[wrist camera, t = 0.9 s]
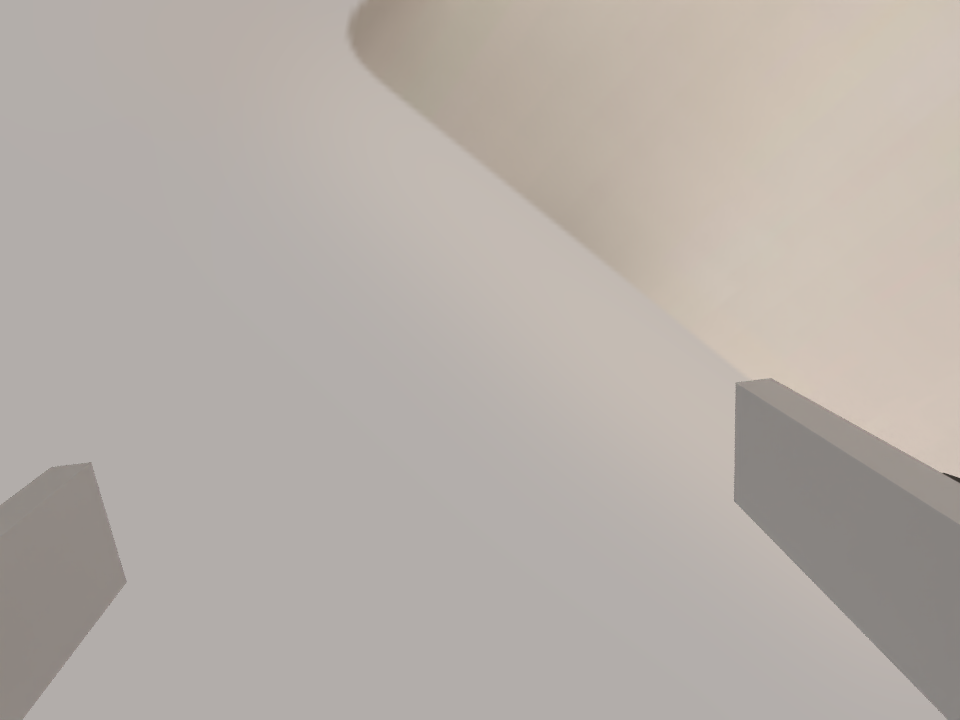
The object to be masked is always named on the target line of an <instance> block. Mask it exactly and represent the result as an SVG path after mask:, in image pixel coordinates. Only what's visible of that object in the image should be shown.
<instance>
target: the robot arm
mask: <svg viewBox="0 0 960 720" xmlns="http://www.w3.org/2000/svg"><path fill="white" fill-rule="evenodd" d="M735 405H736V406H735V407H736V409H735V477H734V478H735V479H734V483H735V484H734V501H735V502H736V503H737V504H738V505H739V506H740V507H741V508H742V509H743V510H744V512H745V513H746V514H748V515H749V517H750V518H751V519H752V520H753V521H754V522H755V523H756V524H757V525H758V526H759V527H760V528H761V529H762V530H763V531H764V532H765V533H766V534H767V535H768V536H769V537H770V538H771V539H772V540H773V541H774V542H775V543H776V544H777V545H778V546H779V547H780V548H781V549H782V550H783V551H784V552H785V553H786V555H787V556H788V557H789V558H790V559H791V560H792V561H793V562H794V563H795V564H796V565H797V566H798V567H799V568H800V569H801V570H802V571H803V572H804V573H805V574H806V575H807V576H808V577H809V578H810V579H811V580H812V581H813V582H814V583H815V584H816V585H817V586H818V587H819V588H820V589H821V590H822V591H823V592H824V593H825V594H826V595H827V596H828V597H829V598H830V600H832V601H833V602H834V604H836V605H837V606H838V608H839V609H840V610H841V611H842V612H843V613H844V614H845V615H846V616H847V617H848V618H849V619H850V620H851V621H852V622H853V623H854V624H855V625H856V626H857V627H858V628H859V629H860V630H861V631H862V632H863V633H864V634H865V635H866V636H867V637H868V638H869V639H870V640H871V641H872V642H873V643H874V644H875V645H876V647H877V648H878V649H879V650H880V651H881V652H882V653H883V654H884V655H885V656H886V657H887V658H888V659H889V660H890V661H891V662H892V663H893V664H894V665H895V666H896V667H897V668H898V669H899V670H900V671H901V672H902V673H903V674H904V675H905V676H906V677H907V678H908V679H909V680H910V681H911V682H912V683H913V684H914V685H915V686H916V687H917V689H918V690H919V691H920V692H922V694H923V695H924V696H925V697H926V698H927V699H928V700H929V701H930V702H931V703H932V704H933V705H934V706H935V707H936V708H937V709H938V710H939V711H940V712H941V713H942V714H943V715H944V716H945V717H946V718H947V719H948V720H960V478H958V477H955V476H952V475H949V474H946V473H941V472H939V471H937V470H935V469H933V468H932V467H930V466H928V465H926V464H924V463H923V462H921V461H919V460H917V459H915V458H914V457H912V456H910V455H908V454H906V453H905V452H903V451H901V450H899V449H897V448H896V447H894V446H892V445H890V444H888V443H887V442H885V441H883V440H881V439H880V438H878V437H876V436H874V435H872V434H871V433H869V432H867V431H865V430H863V429H862V428H860V427H858V426H856V425H854V424H853V423H851V422H849V421H847V420H845V419H844V418H842V417H840V416H838V415H836V414H835V413H833V412H831V411H829V410H827V409H826V408H824V407H822V406H820V405H818V404H817V403H815V402H813V401H811V400H809V399H808V398H806V397H804V396H802V395H800V394H799V393H797V392H795V391H793V390H791V389H790V388H788V387H786V386H784V385H783V384H781V383H779V382H777V381H775V380H774V379H772V378H770V379H761V380H753V381H745V382H737V383H736V404H735ZM125 584H126V578H125V575H124V572H123V568H122V565H121V561H120V558H119V555H118V552H117V548H116V545H115V541H114V538H113V535H112V531H111V528H110V524H109V521H108V518H107V514H106V511H105V508H104V504H103V501H102V497H101V494H100V491H99V487H98V484H97V481H96V478H95V474H94V470H93V467H92V464H91V462H89V463H81V464H73V465H65V466H57V467H51V468H50V469H48V470H47V471H46V472H44V473H43V474H41V475H40V476H39V477H37V478H36V479H35V480H33V481H32V482H31V483H29V484H28V485H27V486H25V487H24V488H23V489H22V490H20V491H19V492H17V493H16V494H15V495H13V496H12V497H11V498H9V499H8V500H7V501H6V502H4V503H3V504H1V505H0V720H22V719H23V718H24V717H25V715H26V714H27V713H28V711H29V710H30V709H31V708H32V706H33V705H34V704H35V702H36V701H37V700H38V698H39V697H40V696H41V694H42V693H43V692H44V690H45V689H46V688H47V686H48V685H49V684H50V683H51V681H52V680H53V679H54V677H55V676H56V675H57V673H58V672H59V671H60V669H61V668H62V667H63V665H64V664H65V662H66V661H67V660H68V659H69V657H70V656H71V655H72V653H73V652H74V651H75V649H76V648H77V647H78V646H79V644H80V643H81V642H82V640H83V639H84V637H85V636H86V635H87V634H88V632H89V631H90V630H91V628H92V627H93V626H94V624H95V623H96V622H97V621H98V619H99V618H100V616H101V615H102V614H103V613H104V611H105V610H106V609H107V607H108V606H109V605H110V603H111V602H112V601H113V599H114V598H115V597H116V595H117V594H118V593H119V592H120V590H121V589H122V588H123V586H124V585H125Z"/></svg>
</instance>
